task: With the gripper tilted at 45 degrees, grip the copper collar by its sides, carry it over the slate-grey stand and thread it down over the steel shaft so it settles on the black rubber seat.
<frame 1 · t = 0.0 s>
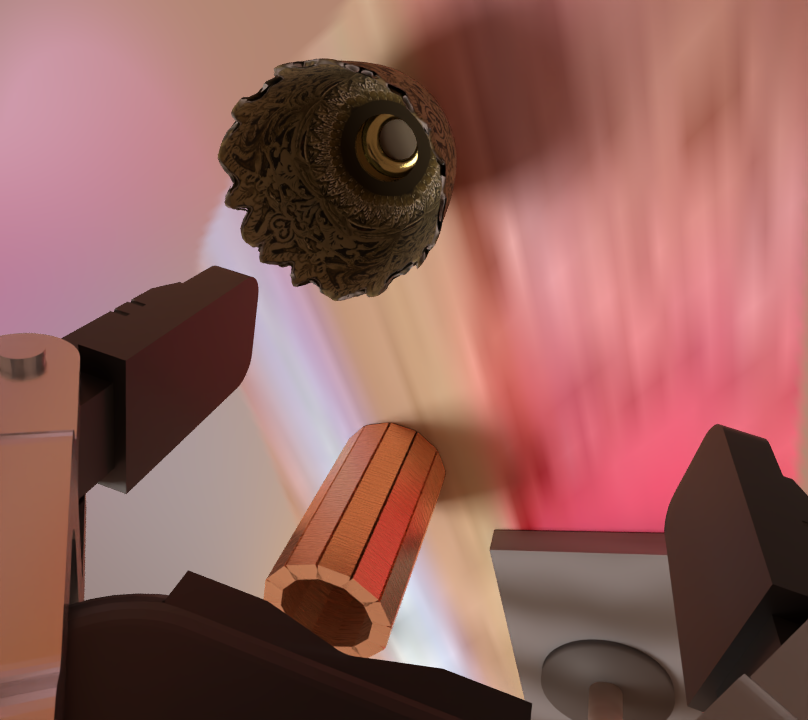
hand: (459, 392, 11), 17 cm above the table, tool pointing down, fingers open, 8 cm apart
cup: (399, 139, 27), on the table
copper collar: (394, 466, 35), on the table
shaft stand: (606, 660, 38), on the table
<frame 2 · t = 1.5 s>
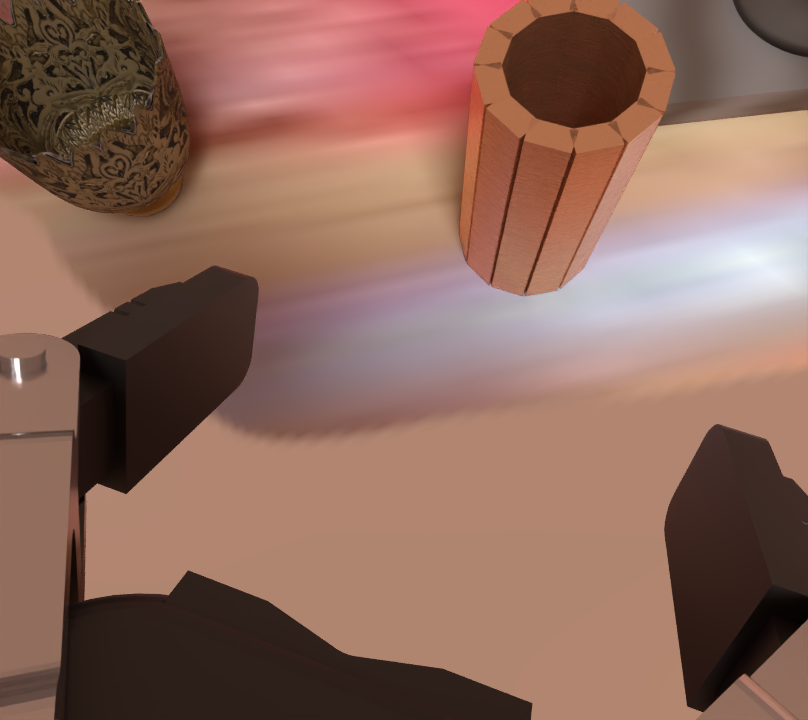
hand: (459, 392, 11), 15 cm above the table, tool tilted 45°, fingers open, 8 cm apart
cup: (150, 189, 30), on the table
copper collar: (525, 235, 28), on the table
shaft stand: (794, 20, 31), on the table
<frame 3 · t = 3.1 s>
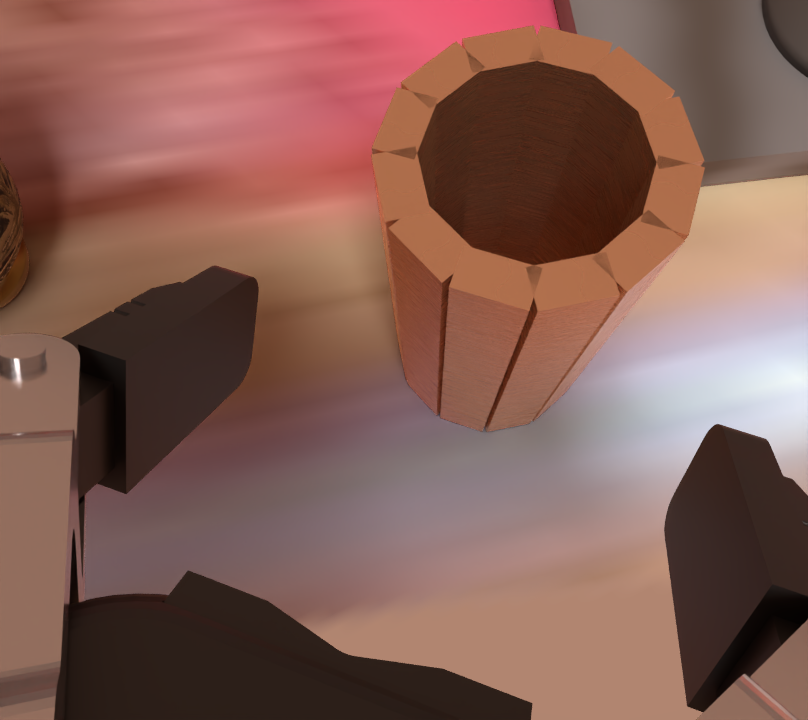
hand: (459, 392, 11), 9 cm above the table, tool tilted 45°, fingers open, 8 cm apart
copper collar: (487, 343, 21), on the table
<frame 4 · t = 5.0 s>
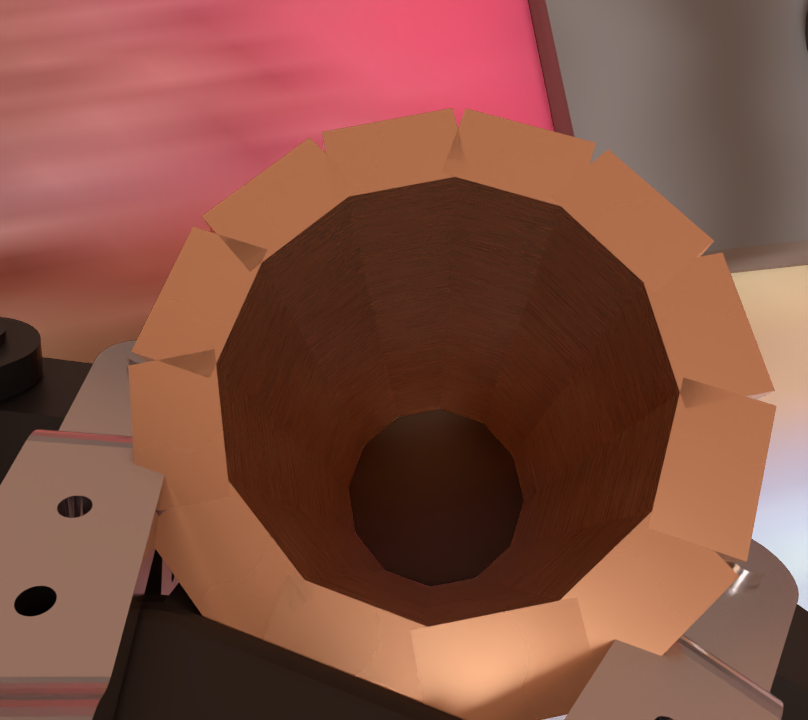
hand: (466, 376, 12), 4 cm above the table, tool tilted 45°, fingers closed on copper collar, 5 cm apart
copper collar: (435, 494, 15), on the table, touching gripper
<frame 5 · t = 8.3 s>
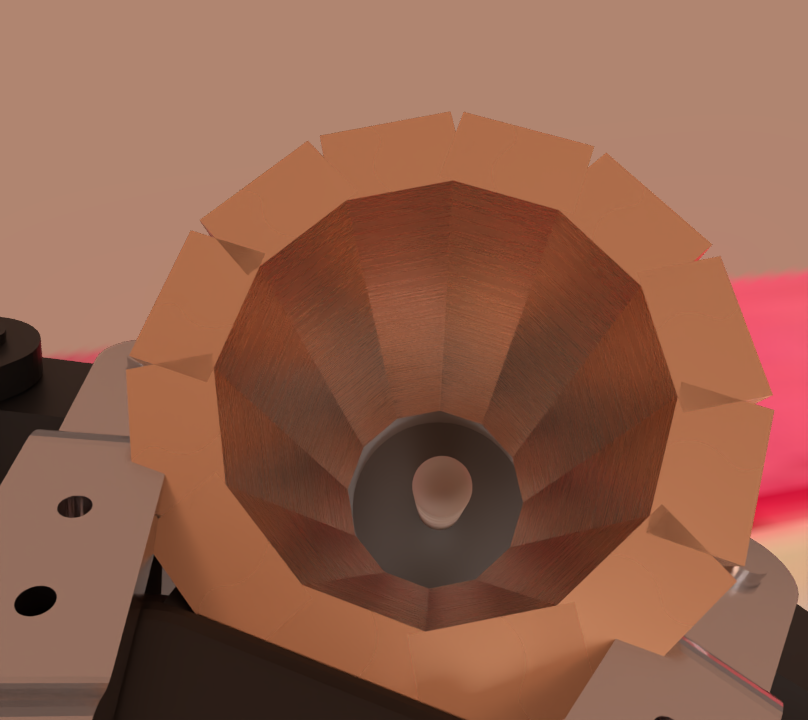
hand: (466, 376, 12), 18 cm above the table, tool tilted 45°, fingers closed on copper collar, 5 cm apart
copper collar: (434, 496, 15), point 14 cm above the table, touching gripper
shaft stand: (438, 511, 29), on the table
when the fingers open (7 cm above the table, at t = 11.6 s): copper collar stays where it is, resting on shaft stand.
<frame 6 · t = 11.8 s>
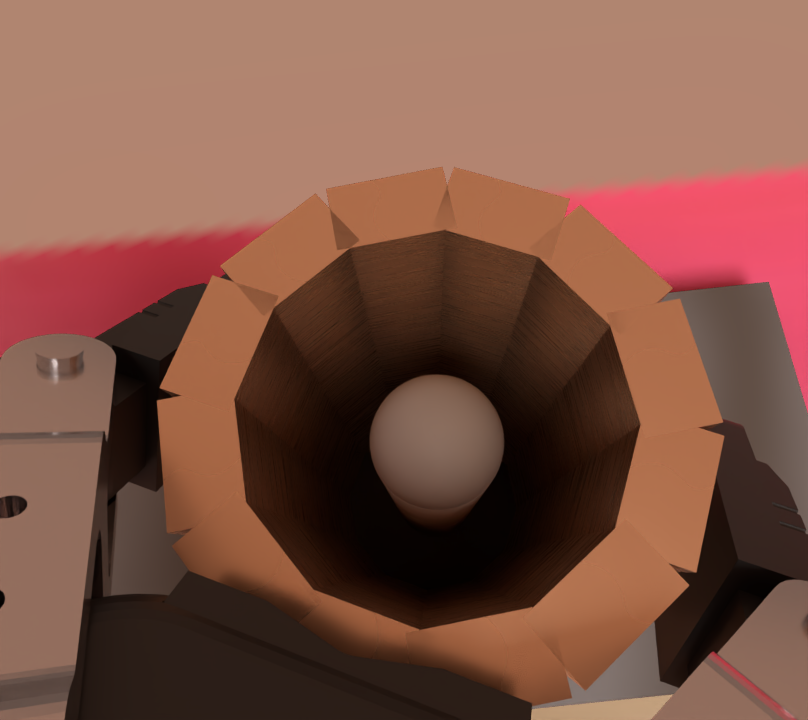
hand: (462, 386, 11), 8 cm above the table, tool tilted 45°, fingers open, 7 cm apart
copper collar: (432, 502, 16), point 2 cm above the table, touching shaft stand
shaft stand: (433, 505, 18), on the table
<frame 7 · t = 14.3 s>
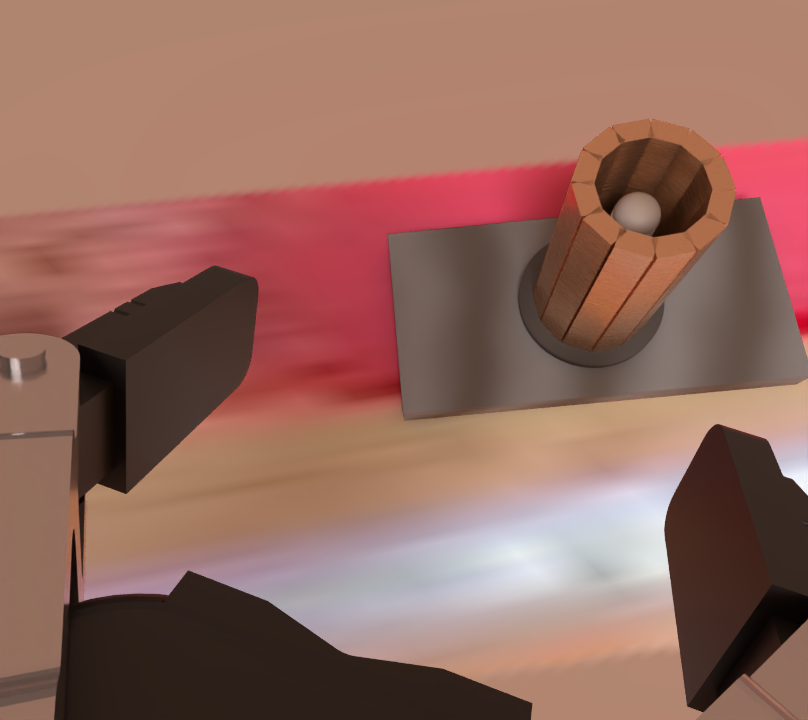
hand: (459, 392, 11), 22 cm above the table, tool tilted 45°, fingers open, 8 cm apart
copper collar: (590, 298, 33), point 2 cm above the table, touching shaft stand
shaft stand: (582, 312, 35), on the table
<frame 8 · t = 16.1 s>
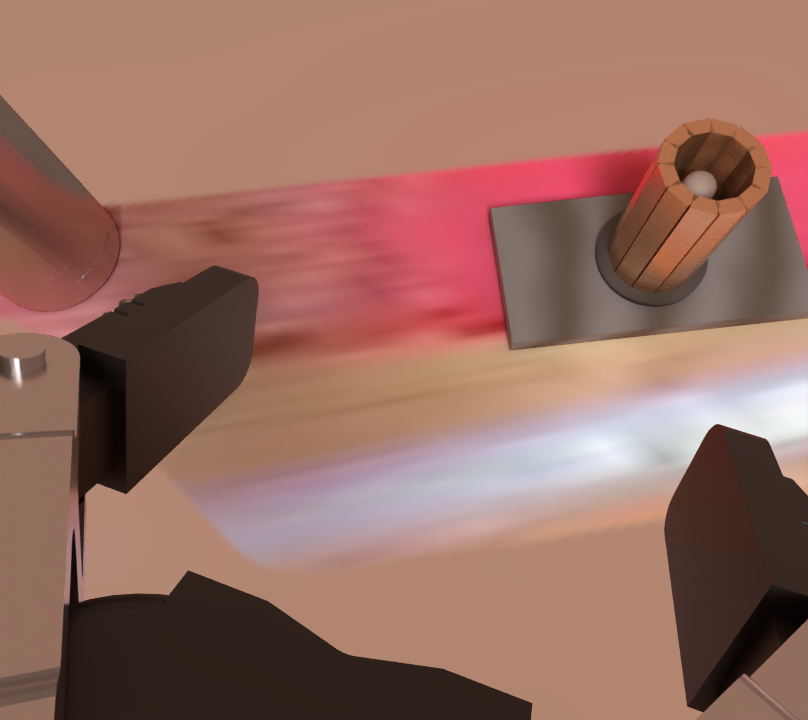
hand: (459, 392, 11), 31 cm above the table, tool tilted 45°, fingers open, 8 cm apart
copper collar: (651, 254, 43), point 2 cm above the table, touching shaft stand
shaft stand: (642, 266, 45), on the table
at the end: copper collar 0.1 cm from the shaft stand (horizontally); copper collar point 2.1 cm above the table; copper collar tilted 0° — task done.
